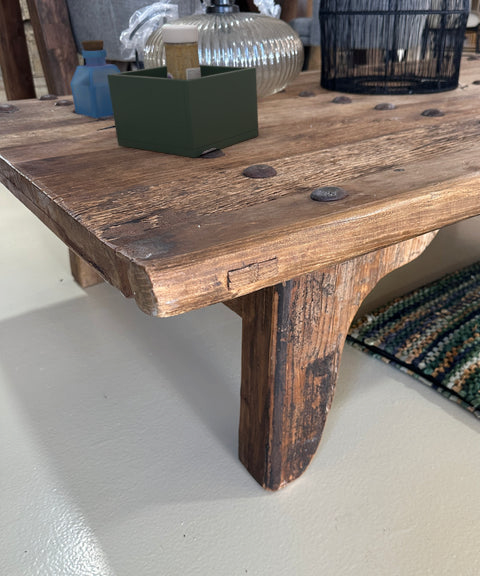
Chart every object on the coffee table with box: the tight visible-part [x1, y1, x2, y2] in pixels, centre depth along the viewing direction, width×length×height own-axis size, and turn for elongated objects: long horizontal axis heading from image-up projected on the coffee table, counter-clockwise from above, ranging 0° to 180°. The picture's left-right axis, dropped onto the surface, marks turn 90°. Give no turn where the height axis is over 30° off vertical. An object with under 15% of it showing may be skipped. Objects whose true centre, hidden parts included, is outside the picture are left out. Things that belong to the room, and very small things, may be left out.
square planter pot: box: [107, 64, 260, 159], centre depth 76 cm, size 14×14×9 cm
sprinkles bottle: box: [160, 24, 201, 80], centre depth 75 cm, size 5×5×13 cm
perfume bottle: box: [69, 39, 122, 132], centre depth 86 cm, size 6×6×12 cm
